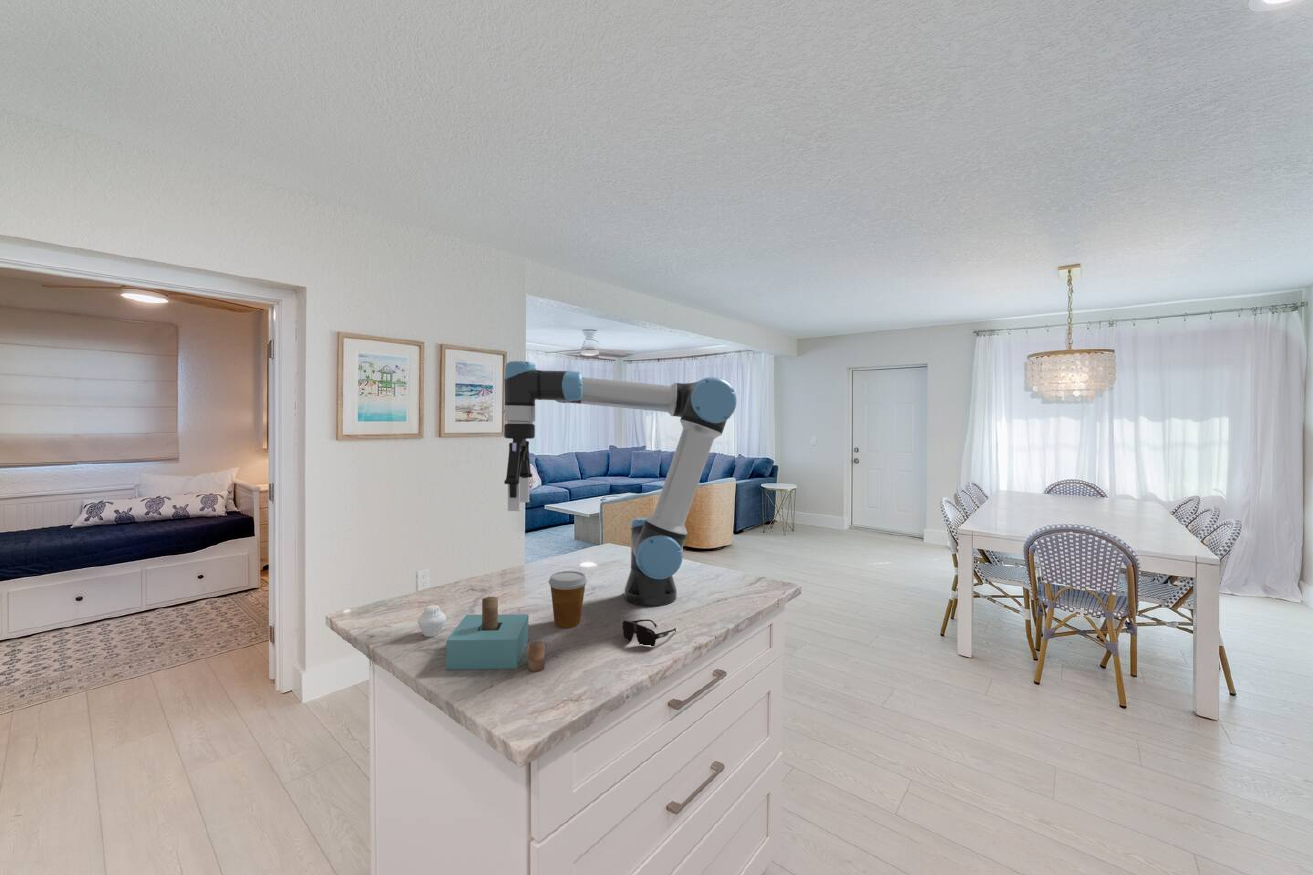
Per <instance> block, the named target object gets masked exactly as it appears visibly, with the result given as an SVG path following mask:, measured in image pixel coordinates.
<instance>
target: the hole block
mask: <svg viewBox="0 0 1313 875" xmlns="http://www.w3.org/2000/svg"><path fill="white" fill-rule="evenodd" d="M529 620H530V619H529V614H526V613H525V614H522V613H521V614H520V613H519V614H518V613H514V614H513V613H512V614H498V630H489V631H482V614H466V615H465V616H464V617H463V618H462V620H461V621H460V622H459V624H458V625H457V626H456V627H455V629H454V630H453V631H452V633H451V634H449V636H448V638H447V639H446V643H445V648H446V649H445V660H446V662H445V669H446V671H448V670H450V671H451V670H452V671H453V670H502V669H503V670H505V669H506V670H509V669H511V670H513V669H514V670H515V669H518V666H519V663H520V661H521V659H522V656H523V654H524V651H525V649H526V647H527V644H528V641H529Z"/></svg>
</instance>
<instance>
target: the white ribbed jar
mask: <svg viewBox="0 0 1313 875" xmlns="http://www.w3.org/2000/svg"><path fill="white" fill-rule="evenodd" d="M446 619H447V616H446V614H445V613H443V612H442V610H441V608H440V606H438V605H437V604H431V605H428V606H426V607H424V609H423V612H422V614H421V615H420V616H419V617H418V618H417V625H418V627H419V629H420V631H421V632H422V634H423V636H424V637H426V638H427V637H428V638H433V637H436V636H438V635H439V634H440V632H441V631H442V629H443V627H444V626H445V622H446V621H447V620H446Z"/></svg>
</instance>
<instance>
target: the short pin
mask: <svg viewBox="0 0 1313 875" xmlns="http://www.w3.org/2000/svg"><path fill="white" fill-rule="evenodd" d="M545 644H546V643H545V642H544V641H541V640H537V641H536V640H535V641H530V642H529V643H528V657H527V658H528V660H527V661H528V664H527V665H528V671H530V672H532V673H538V672H542V671H543V670H545V658H546V656H545V655H546V654H545V649H546V648H545Z"/></svg>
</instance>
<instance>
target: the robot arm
mask: <svg viewBox="0 0 1313 875" xmlns="http://www.w3.org/2000/svg"><path fill="white" fill-rule="evenodd" d="M504 371H505V372H504V373H505V374H504V379H503V380H504V409H502V411H501V412H502V413H503V414H504V422H506V423H504V425H503V427H504V428H503V429H504V431H503V432H504V434H503V435H504V436H503V437H504V438H505V439H512V442H509V444H508V457H507V458H508V459H507V467H506V468H507V469H506V478H505V479H504V485H507V512H520V510H521V509H520V508H521V505H520V503H530V478H533V473H532V471H531V461H530V442H529V440H530V439H531V440H532V439H534V438H535V437H536V425H535V424H534V422H536V401H537V400H538V401H542V400H543V401H556V402H558V403H561V404H566V403H568V404H580V405H590V406H602V407H611V408H621V409H622V408H623V409H633V410H641V411H653V412H661V413H662V412H664V413H668V414H669V416H671V417H676V418H677V417H678V418H680V420H679V421H680V424H681V427H682V431H681V433H680V437H679V440H678V443H677V446H676V448H675V451H674V454H673V457H672V460H671V463H670V466H669V467H668V468H669V469H668V471H667V473H666V478H665V480H664V483H663V486H662V488H661V491H660V494H659V497H658V500H657V503H656V507H655V508H654V512H653V513H652V514H651V515H649V516H647V517H638V518H637V517H636V518H634V519H633V520H632V521H631V526H630V530H631V536H630V538H631V539H630V540H631V541H630V543H631V544H630V547H631V548H630V550H631V551H630V571H629V574H628V578H627V581H626V583H625V587H624V595H623V596H624V599H625V600H626V602H629V603H631V604H635V605H638V606H646V607H647V606H650V607H651V606H653V607H654V606H664V605H669V604H671V603H674V602H675V601H676V599H677V593H678V592H677V587H676V583H675V581H674V576H673V575H675V574H676V573H677V572H678V571H679V569H680V568H681V566H682V562H683V557H684V556H683V555H684V554H683V548H684V544H685V542H686V538H687V536H688V531H687V528H686V527H685V524H686V521H687V518H688V515H689V512H690V509H691V507H692V503H693V501H694V497H695V495H696V491H697V489H698V486H699V484H700V480H701V477H702V474H703V472H704V469H705V465H706V463H707V460H708V457H709V454H710V453H711V448H712V445H713V443H714V440H715V439H716V438H719V437H720V436H722V435H723V432H724V430H725V426H726V423H727V421H728V419H730V418H731V417H732V415H733V414H734V412H735V411H736V407H737V395H736V392H735V390H734V388H733V386H732V385H731V384H730V383H729V382H727V381H726V380H724V379H722V378H719V377H714V376H709V377H705V378H702V379H700V380H699V381H695V382H687V383H681V382H674V383H672V384H671V385H663V384H655V383H645V382H633V381H625V380H616V379H615V380H614V379H605V378H594V377H583V374H582V372H580V371H572V370H539V369H537V368H536V364H535V362H532V361H525V360H524V361H523V360H512V361H508V362H507V363H506V365H505V368H504ZM674 600H675V601H674Z"/></svg>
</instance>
